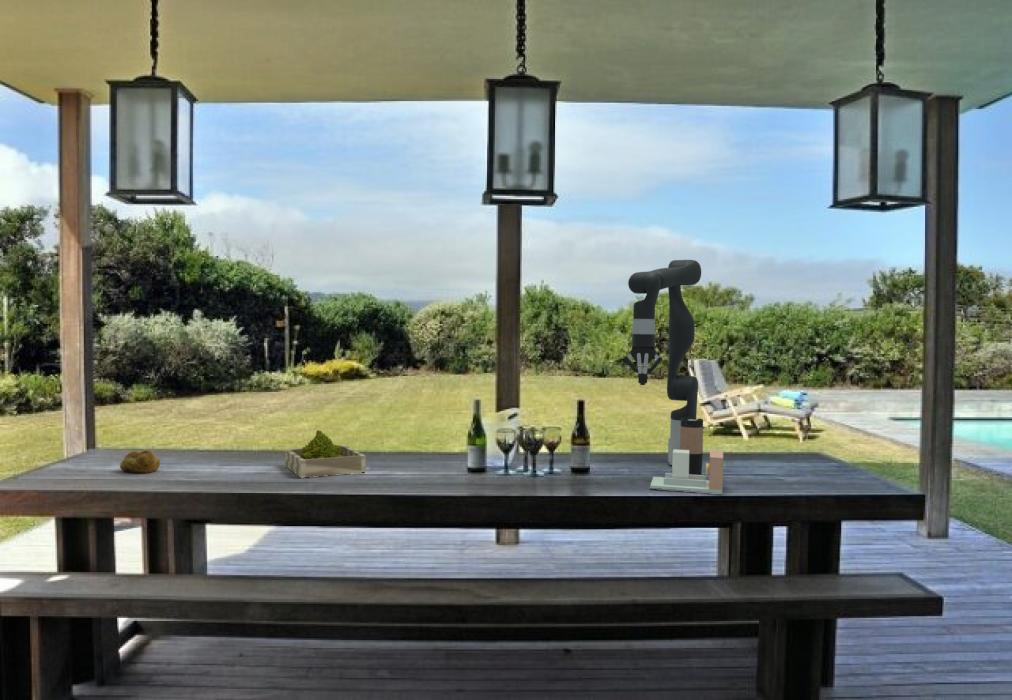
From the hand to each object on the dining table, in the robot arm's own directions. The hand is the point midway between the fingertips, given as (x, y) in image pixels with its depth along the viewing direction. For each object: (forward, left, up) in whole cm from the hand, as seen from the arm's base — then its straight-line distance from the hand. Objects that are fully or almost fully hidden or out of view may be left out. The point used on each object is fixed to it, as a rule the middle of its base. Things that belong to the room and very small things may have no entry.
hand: (642, 384), depth 262 cm
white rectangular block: (+14, +5, -30) cm, 34 cm away
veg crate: (-61, -90, -32) cm, 113 cm away
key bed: (+15, +6, -32) cm, 36 cm away
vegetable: (-62, -91, -32) cm, 115 cm away
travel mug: (+3, +19, -32) cm, 38 cm away
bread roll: (-84, -147, -32) cm, 172 cm away
